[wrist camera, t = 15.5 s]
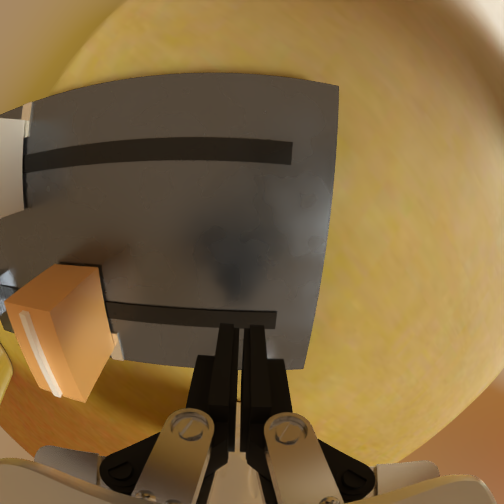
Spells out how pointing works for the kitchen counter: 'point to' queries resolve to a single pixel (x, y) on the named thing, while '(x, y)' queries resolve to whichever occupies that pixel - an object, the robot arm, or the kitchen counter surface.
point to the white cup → (236, 477)
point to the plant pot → (4, 372)
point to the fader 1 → (11, 166)
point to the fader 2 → (63, 329)
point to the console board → (181, 207)
